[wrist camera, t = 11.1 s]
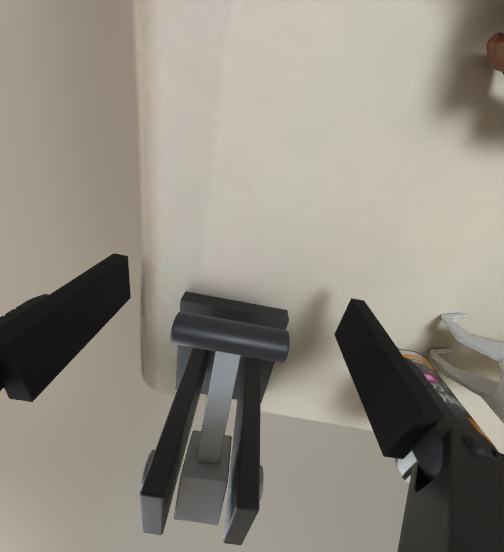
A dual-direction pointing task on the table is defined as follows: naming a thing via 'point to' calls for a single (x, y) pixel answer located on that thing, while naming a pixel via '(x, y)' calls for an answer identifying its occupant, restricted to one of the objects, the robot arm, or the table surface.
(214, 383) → the lever handle
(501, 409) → the cat figurine
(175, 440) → the hinged clamp bracket
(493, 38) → the pottery mug
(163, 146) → the table surface
